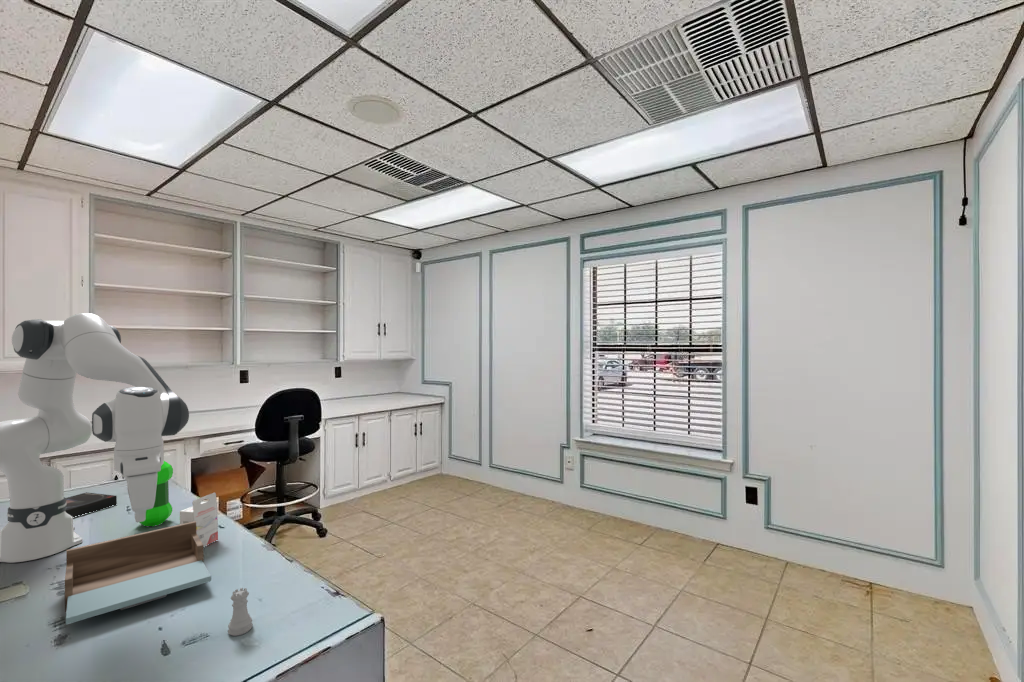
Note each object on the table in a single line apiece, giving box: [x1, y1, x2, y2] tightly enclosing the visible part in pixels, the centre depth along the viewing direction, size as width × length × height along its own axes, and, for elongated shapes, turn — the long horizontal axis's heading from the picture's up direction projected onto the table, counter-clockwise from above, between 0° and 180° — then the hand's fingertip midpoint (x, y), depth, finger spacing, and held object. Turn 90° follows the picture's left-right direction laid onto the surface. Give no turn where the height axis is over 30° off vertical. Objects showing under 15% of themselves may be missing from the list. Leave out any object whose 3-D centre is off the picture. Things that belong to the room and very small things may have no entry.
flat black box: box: [65, 492, 118, 517], centre depth 170 cm, size 16×17×4 cm
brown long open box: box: [64, 521, 205, 613], centre depth 117 cm, size 12×26×10 cm, turn 132°
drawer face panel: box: [65, 560, 212, 625], centre depth 108 cm, size 2×25×12 cm
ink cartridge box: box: [179, 492, 219, 548], centre depth 138 cm, size 9×5×15 cm, turn 168°
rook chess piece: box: [227, 587, 254, 637], centre depth 96 cm, size 4×4×8 cm
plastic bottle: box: [138, 460, 174, 527], centre depth 156 cm, size 10×10×25 cm
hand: (140, 520), depth 107 cm, fingers closed
